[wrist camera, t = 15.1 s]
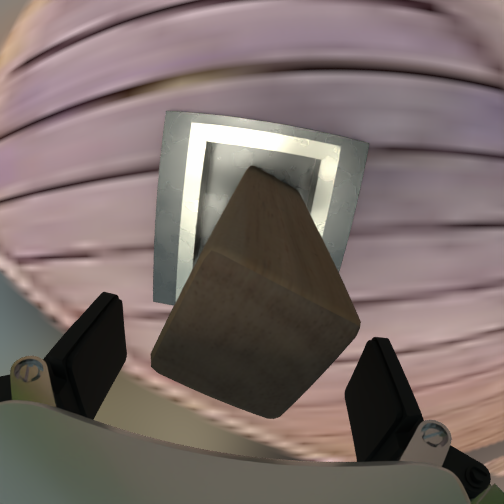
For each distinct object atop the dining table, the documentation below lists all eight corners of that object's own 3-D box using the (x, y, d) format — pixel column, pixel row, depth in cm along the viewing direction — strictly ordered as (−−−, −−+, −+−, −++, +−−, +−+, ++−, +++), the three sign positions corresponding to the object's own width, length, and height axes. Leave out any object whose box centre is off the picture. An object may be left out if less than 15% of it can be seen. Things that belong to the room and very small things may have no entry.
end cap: (365, 143, 23) (379, 145, 20) (320, 322, 30) (325, 344, 26) (169, 111, 23) (155, 108, 20) (156, 296, 29) (144, 315, 26)
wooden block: (245, 282, 27) (217, 475, 10) (198, 257, 27) (113, 434, 10) (301, 191, 24) (370, 328, 7) (250, 163, 23) (206, 243, 7)
